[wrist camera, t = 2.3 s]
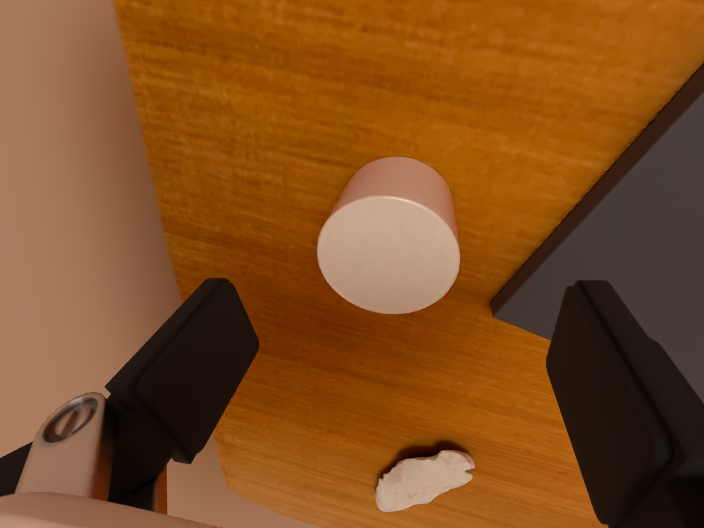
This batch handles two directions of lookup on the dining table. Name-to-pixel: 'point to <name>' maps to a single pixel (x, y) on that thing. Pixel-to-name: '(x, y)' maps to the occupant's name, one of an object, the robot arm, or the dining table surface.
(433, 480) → the stone tool
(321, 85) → the dining table surface
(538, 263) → the board
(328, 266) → the white cylinder
